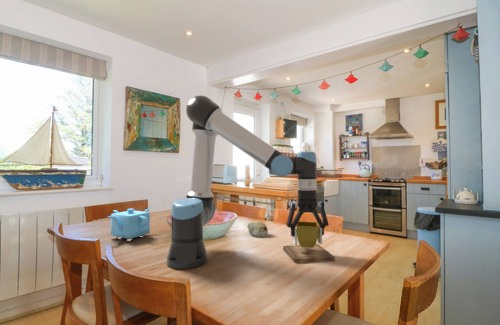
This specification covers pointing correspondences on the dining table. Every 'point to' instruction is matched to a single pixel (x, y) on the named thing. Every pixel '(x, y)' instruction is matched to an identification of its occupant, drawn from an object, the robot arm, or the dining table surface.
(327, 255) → the plate
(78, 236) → the dining table surface
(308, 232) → the flower pot
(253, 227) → the grey rounded lump
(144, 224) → the teakettle
